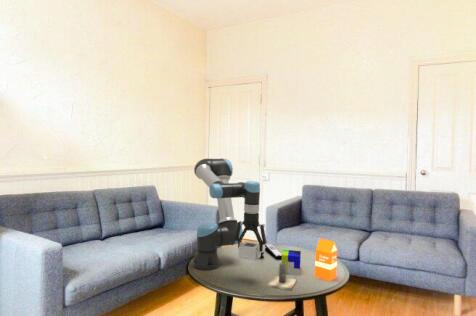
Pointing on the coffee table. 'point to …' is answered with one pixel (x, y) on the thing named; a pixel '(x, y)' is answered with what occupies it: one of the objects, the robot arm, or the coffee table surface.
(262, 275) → the coffee table surface
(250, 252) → the frame
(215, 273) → the coffee table surface
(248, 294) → the coffee table surface
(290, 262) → the puzzle toy
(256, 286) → the coffee table surface
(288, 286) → the shaft block
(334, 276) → the orange juice
